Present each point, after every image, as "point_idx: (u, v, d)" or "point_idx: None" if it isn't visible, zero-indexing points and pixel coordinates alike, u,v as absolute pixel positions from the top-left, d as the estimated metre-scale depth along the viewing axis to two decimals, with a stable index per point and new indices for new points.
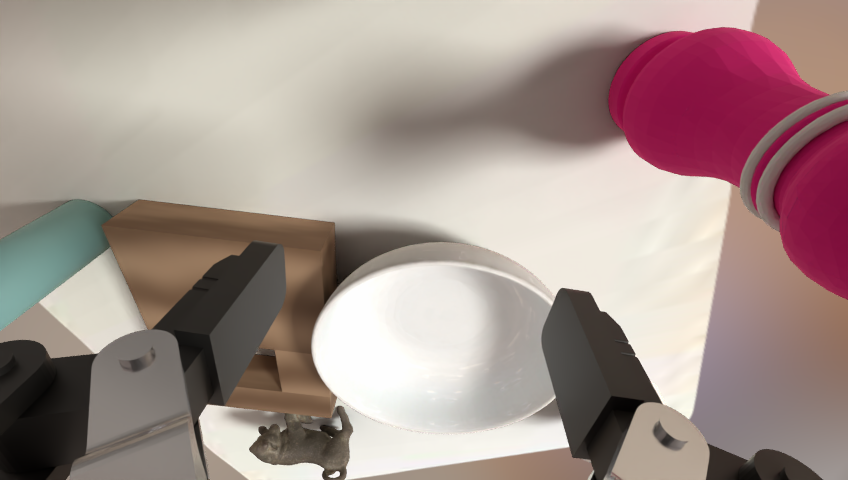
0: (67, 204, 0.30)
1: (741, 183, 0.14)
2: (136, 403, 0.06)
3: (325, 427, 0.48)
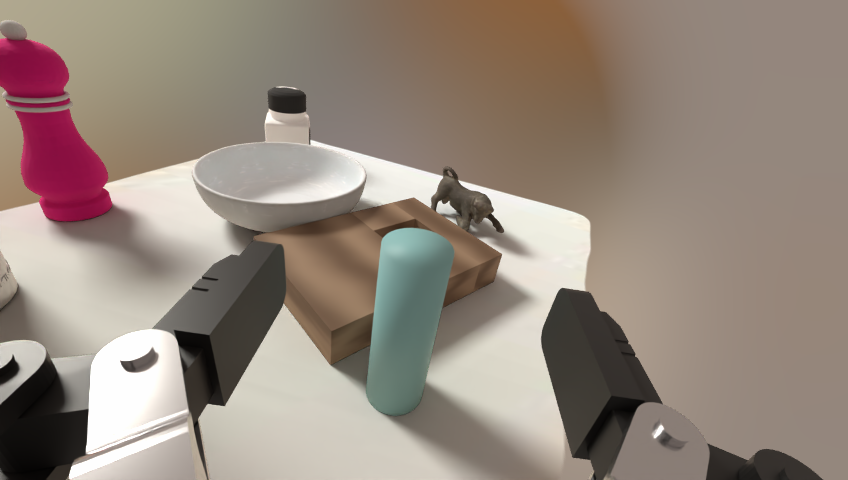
0: (375, 401, 0.28)
1: (56, 109, 0.38)
2: (136, 403, 0.06)
3: (461, 214, 0.59)
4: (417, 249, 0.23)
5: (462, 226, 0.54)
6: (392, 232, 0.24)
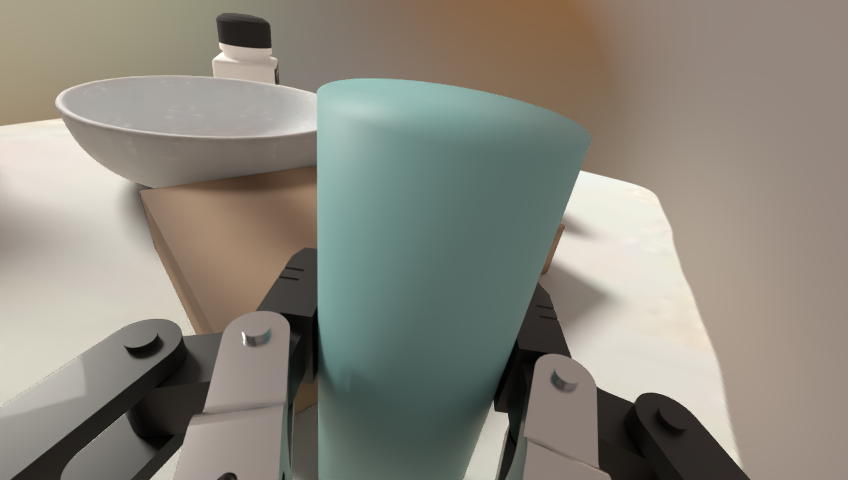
0: None
1: None
2: (270, 373, 0.07)
3: None
4: (454, 110, 0.06)
5: None
6: (366, 79, 0.07)
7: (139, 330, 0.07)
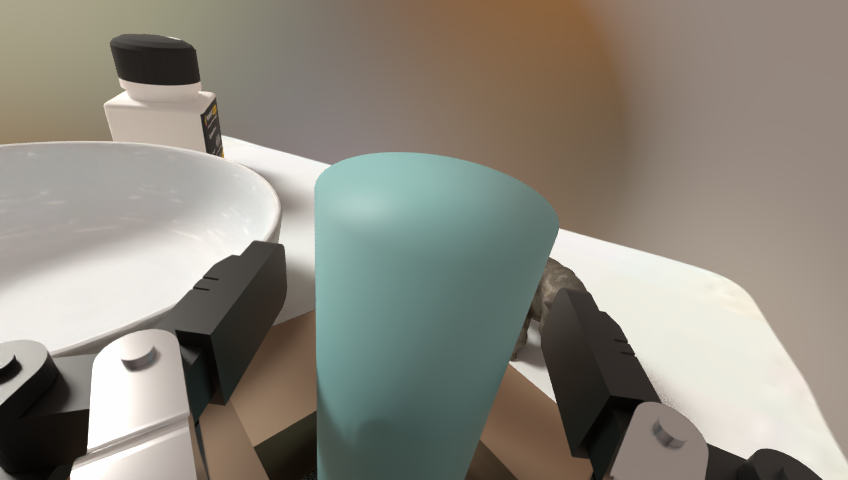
0: None
1: None
2: (137, 403, 0.06)
3: None
4: (437, 200, 0.07)
5: None
6: (360, 158, 0.08)
7: None
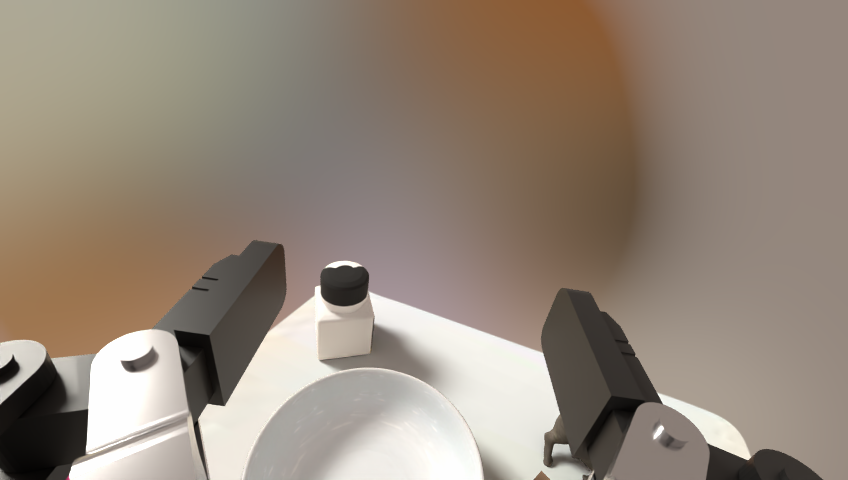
0: None
1: None
2: (136, 403, 0.06)
3: None
4: None
5: None
6: None
7: None
